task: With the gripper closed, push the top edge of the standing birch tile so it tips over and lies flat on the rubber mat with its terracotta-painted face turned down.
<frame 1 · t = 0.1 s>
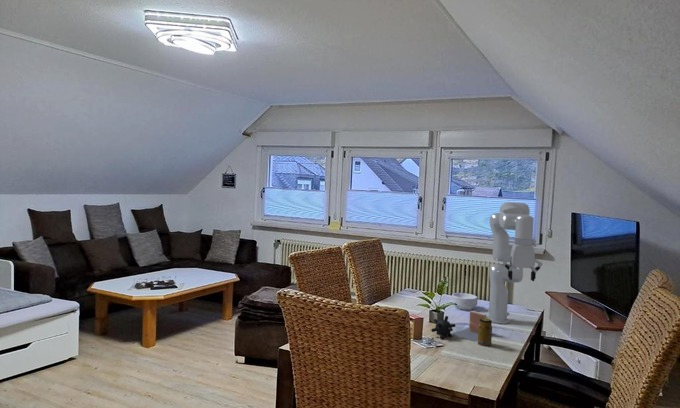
hand: (521, 280, 209), 31 cm above the table, tool pointing down, fingers open, 9 cm apart
paper bowls: (464, 308, 281), on the table
birch tile: (477, 332, 229), resting on rubber mat
toy ball: (443, 337, 221), on the table
condiment: (485, 346, 211), on the table
rubber mat: (472, 334, 227), on the table
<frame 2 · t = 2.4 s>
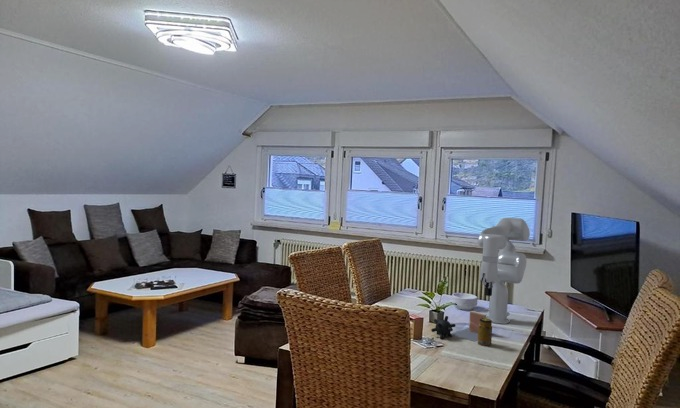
hand: (488, 295, 235), 18 cm above the table, tool pointing down, fingers closed
nothing on the table moved.
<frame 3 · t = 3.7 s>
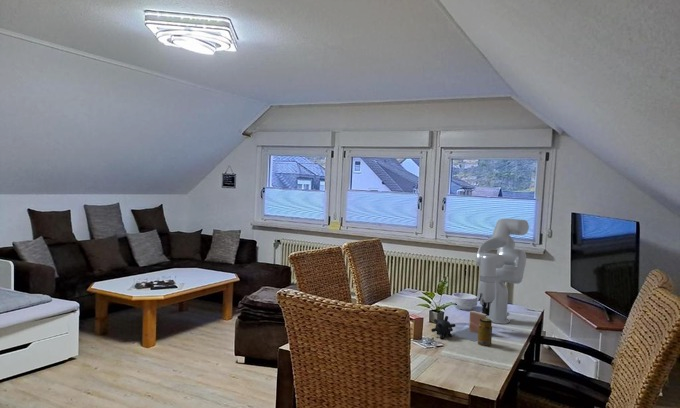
hand: (485, 315, 234), 8 cm above the table, tool pointing down, fingers closed
nothing on the table moved.
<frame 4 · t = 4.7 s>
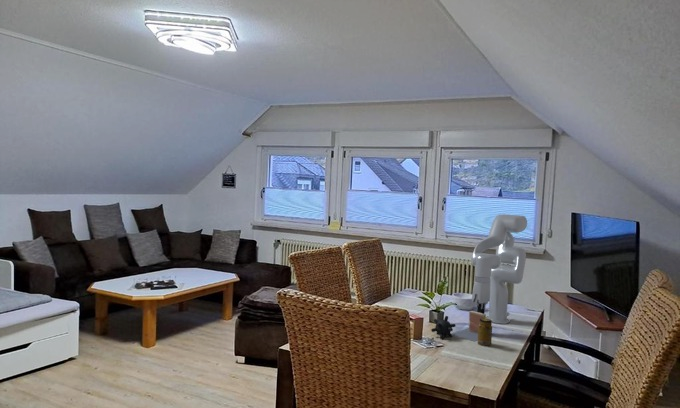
hand: (480, 316, 231), 8 cm above the table, tool pointing down, fingers closed
birch tile: (477, 332, 229), resting on rubber mat, touching gripper
everything else where it was.
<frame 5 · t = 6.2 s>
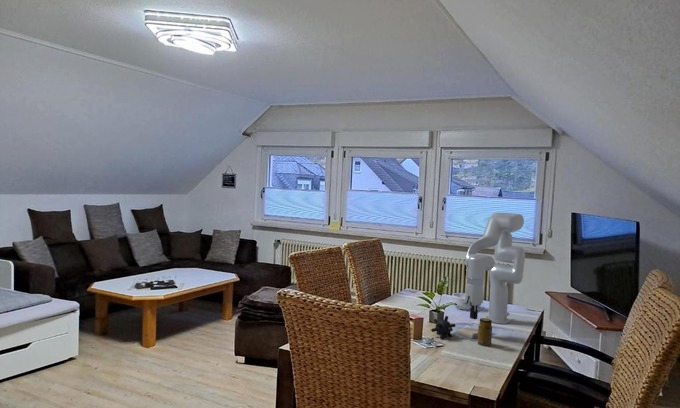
hand: (473, 318, 226), 8 cm above the table, tool pointing down, fingers closed
birch tile: (476, 330, 229), point 2 cm above the table, tilted 90°, touching rubber mat
everything else where it was.
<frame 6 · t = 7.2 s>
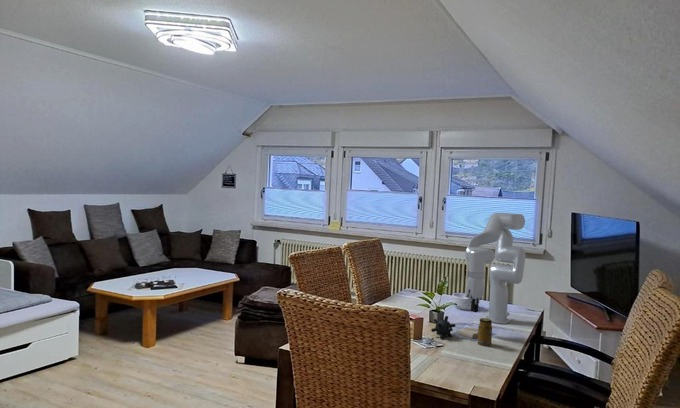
hand: (474, 311, 227), 11 cm above the table, tool pointing down, fingers closed
nothing on the table moved.
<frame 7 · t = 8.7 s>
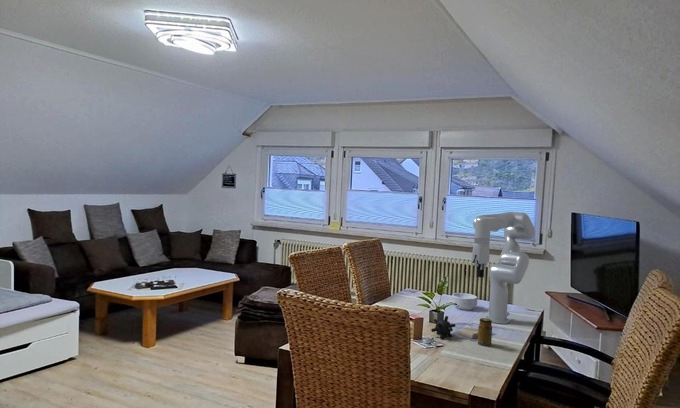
hand: (480, 277, 236), 27 cm above the table, tool pointing down, fingers closed
nothing on the table moved.
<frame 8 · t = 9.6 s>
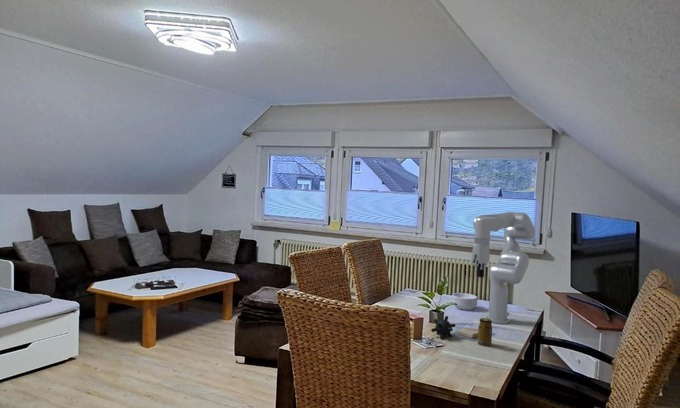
hand: (480, 276, 236), 27 cm above the table, tool pointing down, fingers closed
nothing on the table moved.
at the end: birch tile tilted 90°; birch tile inside the target area (2.9 cm from its centre), point 1.5 cm above the table; birch tile touching rubber mat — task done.
